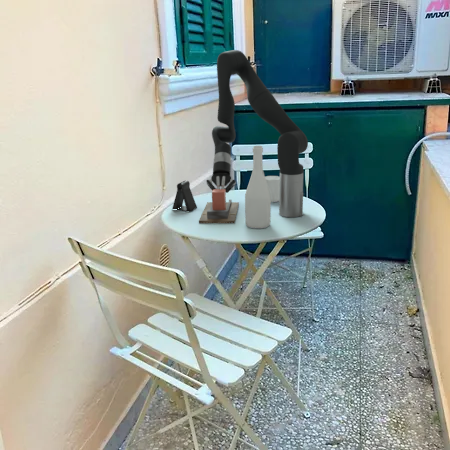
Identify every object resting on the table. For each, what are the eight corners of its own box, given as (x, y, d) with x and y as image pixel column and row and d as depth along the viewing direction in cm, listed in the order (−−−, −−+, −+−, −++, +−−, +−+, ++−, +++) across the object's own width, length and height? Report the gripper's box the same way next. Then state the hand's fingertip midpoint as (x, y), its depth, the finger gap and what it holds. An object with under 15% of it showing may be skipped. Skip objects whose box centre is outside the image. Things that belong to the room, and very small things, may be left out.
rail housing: (238, 204, 196) (238, 195, 194) (234, 223, 171) (234, 213, 170) (207, 204, 197) (207, 195, 196) (198, 223, 172) (198, 213, 171)
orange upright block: (226, 210, 183) (225, 189, 181) (224, 213, 179) (224, 192, 176) (214, 210, 184) (213, 189, 181) (212, 213, 179) (211, 192, 176)
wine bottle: (247, 220, 174) (246, 144, 164) (271, 221, 172) (272, 144, 162) (243, 228, 165) (242, 148, 155) (269, 229, 163) (270, 148, 154)
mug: (252, 200, 202) (252, 178, 198) (260, 196, 208) (260, 174, 205) (276, 203, 196) (276, 180, 192) (283, 198, 203) (284, 176, 199)
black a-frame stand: (197, 208, 192) (195, 181, 188) (190, 212, 187) (189, 184, 183) (178, 206, 196) (177, 179, 192) (172, 210, 190) (170, 182, 186)
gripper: (205, 160, 188) (203, 196, 180) (236, 160, 186) (235, 196, 179) (207, 170, 194) (205, 204, 187) (237, 170, 193) (236, 204, 186)
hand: (220, 200), depth 183 cm, fingers closed
